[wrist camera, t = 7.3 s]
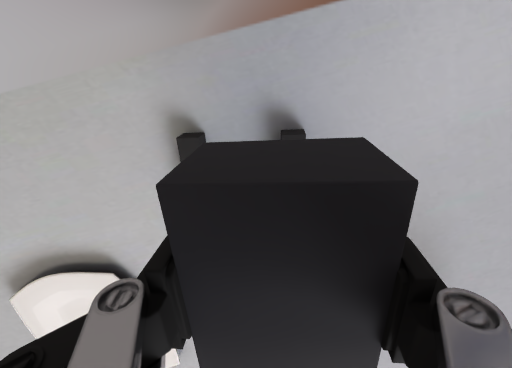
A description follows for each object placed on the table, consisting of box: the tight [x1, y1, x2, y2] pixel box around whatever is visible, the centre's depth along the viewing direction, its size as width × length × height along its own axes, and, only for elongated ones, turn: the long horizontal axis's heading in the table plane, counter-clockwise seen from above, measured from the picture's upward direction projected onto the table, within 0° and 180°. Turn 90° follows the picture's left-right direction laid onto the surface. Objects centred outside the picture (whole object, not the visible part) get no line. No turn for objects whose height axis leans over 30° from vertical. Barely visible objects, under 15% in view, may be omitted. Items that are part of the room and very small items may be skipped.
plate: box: [9, 272, 180, 368], centre depth 38 cm, size 23×23×2 cm
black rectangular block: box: [156, 137, 418, 368], centre depth 9 cm, size 8×6×4 cm
